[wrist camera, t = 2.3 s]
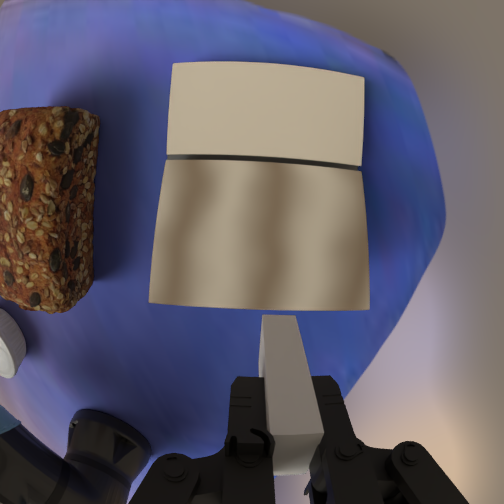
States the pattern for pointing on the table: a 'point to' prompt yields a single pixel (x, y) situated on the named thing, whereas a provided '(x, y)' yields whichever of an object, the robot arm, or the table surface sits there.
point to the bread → (47, 206)
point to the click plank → (260, 237)
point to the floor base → (265, 114)
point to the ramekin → (10, 345)
